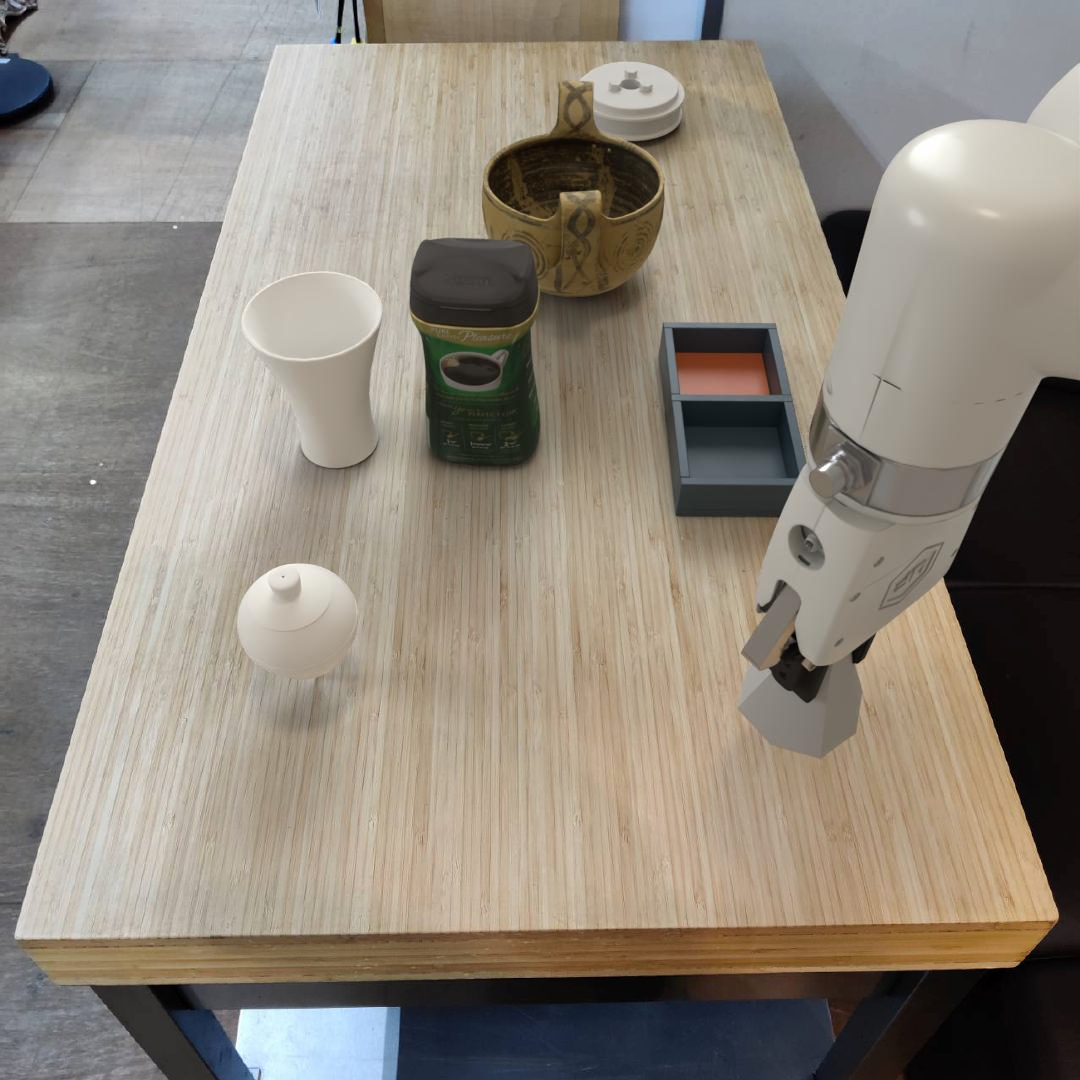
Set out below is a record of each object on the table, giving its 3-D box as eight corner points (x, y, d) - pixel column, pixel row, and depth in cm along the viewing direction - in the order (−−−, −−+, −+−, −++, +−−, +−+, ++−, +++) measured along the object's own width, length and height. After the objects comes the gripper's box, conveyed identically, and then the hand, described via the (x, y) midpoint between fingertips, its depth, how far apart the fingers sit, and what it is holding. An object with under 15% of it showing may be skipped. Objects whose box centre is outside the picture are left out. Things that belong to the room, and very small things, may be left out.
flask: (826, 781, 56) (869, 694, 48) (715, 713, 58) (739, 620, 50) (881, 691, 59) (931, 595, 51) (775, 631, 62) (806, 531, 54)
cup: (378, 497, 80) (354, 371, 69) (257, 474, 81) (216, 348, 71) (417, 409, 86) (401, 281, 75) (305, 389, 88) (274, 261, 77)
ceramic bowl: (663, 349, 91) (682, 205, 79) (480, 348, 91) (472, 204, 79) (648, 210, 105) (662, 71, 93) (489, 209, 105) (483, 69, 93)
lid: (681, 151, 112) (687, 109, 108) (571, 146, 113) (572, 104, 109) (680, 95, 120) (685, 54, 116) (577, 91, 121) (578, 50, 117)
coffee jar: (543, 407, 86) (545, 223, 72) (536, 474, 81) (536, 291, 67) (434, 401, 87) (414, 216, 72) (420, 467, 82) (395, 283, 67)
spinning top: (370, 624, 72) (345, 521, 63) (374, 717, 67) (347, 621, 58) (264, 636, 71) (222, 534, 62) (261, 731, 67) (215, 636, 57)
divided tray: (801, 517, 79) (812, 485, 76) (675, 516, 79) (681, 484, 76) (767, 355, 91) (775, 322, 88) (658, 354, 91) (662, 321, 88)
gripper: (839, 592, 36) (759, 799, 50) (1100, 396, 42) (962, 631, 56) (697, 473, 40) (660, 697, 54) (955, 309, 46) (860, 550, 60)
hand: (815, 661), depth 55 cm, fingers closed on flask, 3 cm apart
